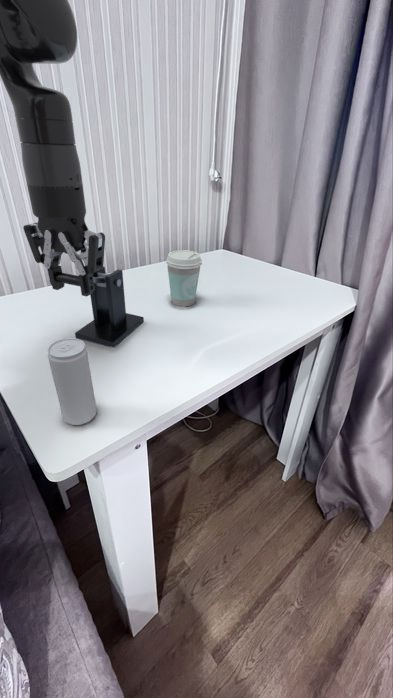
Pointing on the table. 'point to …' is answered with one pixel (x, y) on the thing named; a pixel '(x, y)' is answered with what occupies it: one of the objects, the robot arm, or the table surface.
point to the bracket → (109, 313)
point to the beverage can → (72, 380)
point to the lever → (75, 279)
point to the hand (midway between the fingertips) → (73, 291)
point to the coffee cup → (183, 276)
